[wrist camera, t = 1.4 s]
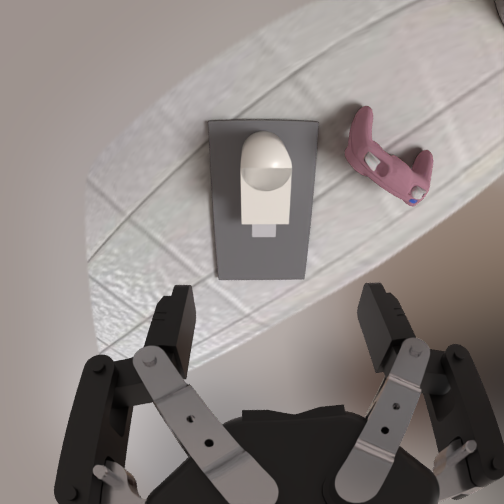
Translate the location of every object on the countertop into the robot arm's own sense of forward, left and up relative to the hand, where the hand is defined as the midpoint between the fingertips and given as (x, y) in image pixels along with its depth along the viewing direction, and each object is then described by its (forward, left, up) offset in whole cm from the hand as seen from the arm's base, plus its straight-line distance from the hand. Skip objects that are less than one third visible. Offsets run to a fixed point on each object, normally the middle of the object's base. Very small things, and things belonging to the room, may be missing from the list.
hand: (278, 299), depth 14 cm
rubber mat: (+4, 0, -18) cm, 19 cm away
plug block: (0, 0, -18) cm, 18 cm away
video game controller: (-3, +12, -18) cm, 22 cm away
